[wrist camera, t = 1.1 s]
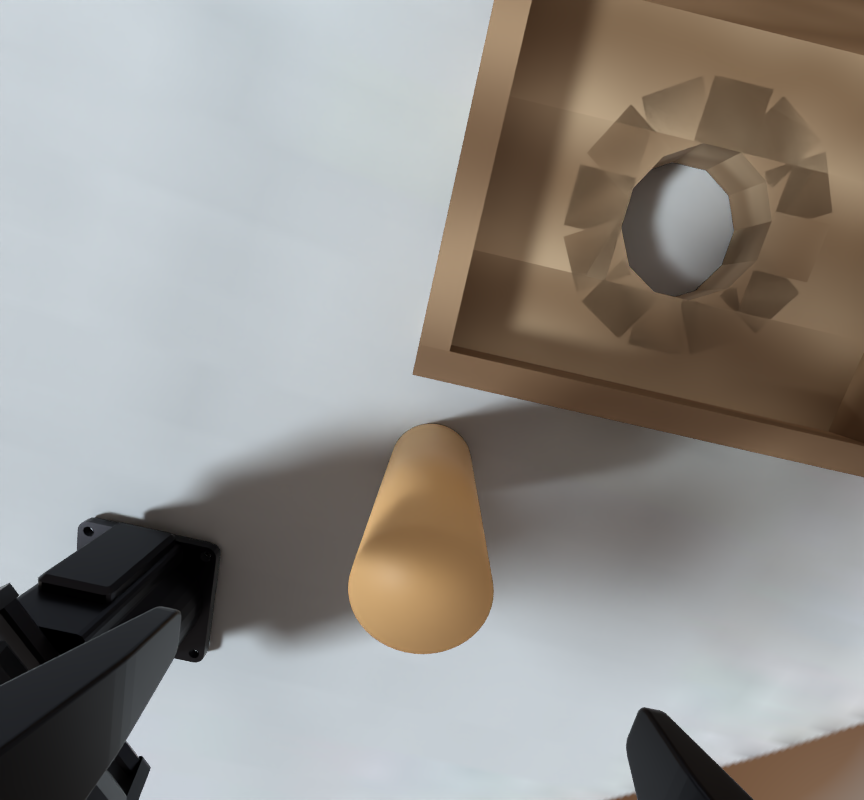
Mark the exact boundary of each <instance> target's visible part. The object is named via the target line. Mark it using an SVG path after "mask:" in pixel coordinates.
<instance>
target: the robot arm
mask: <svg viewBox="0 0 864 800" xmlns="http://www.w3.org/2000/svg"><path fill="white" fill-rule="evenodd" d="M90 527H91V528H92V529H93V530H94V531H92V530H91V529H90ZM205 552H207V553H209V554H210V555H211V557H209V556H207V555H206V554H205ZM219 562H220V549H219V547H218V546H217V545H215V544H213V543H210V542H205V541H201V540H196V539H192V538H187V537H182V536H178V535H173V534H171V533H167V532H163V531H158V530H153V529H149V528H144V527H140V526H135V525H130V524H126V523H118V522H113V521H108V520H104V519H99V518H90V519H87V520H86V521H84V522H82V523H81V524H80V525H79V527H78V537H77V551H76V552H75V553H73V554H72V555H70V556H69V557H67V558H66V559H64V560H63V561H61V562H60V563H58V564H57V565H55V566H54V567H52V568H51V569H49V570H48V571H46V572H45V573H43V574H42V575H41V576H40V577H39V578H38V584H36V585H35V586H33V587H32V588H31V589H29V590H28V591H26V592H25V593H23V594H22V595H20V596H19V594H18V593H17V592H16V590H15V589H14V588H13V587H12V585H11V584H10V583H8V584H6V585H4V586H2V587H0V800H139V797H140V794H141V792H142V789H143V787H144V784H145V781H146V779H147V776H148V774H149V771H150V766H149V764H148V763H147V762H146V760H145V759H144V758H143V757H142V756H139V757H138V756H137V754H136V753H135V752H134V750H133V749H132V748H131V746H130V745H129V744H128V743H127V741H126V739H127V738H128V736H129V734H130V733H131V731H132V729H133V728H134V726H135V724H136V722H137V721H138V719H139V717H140V716H141V714H142V712H143V710H144V709H145V707H146V705H147V704H148V702H149V700H150V698H151V697H152V695H153V693H154V692H155V690H156V688H157V687H158V685H159V683H160V681H161V680H162V678H163V676H164V675H165V673H166V671H167V669H168V668H169V666H170V664H171V663H172V661H173V659H174V658H175V659H180V660H185V661H190V662H199V661H201V660H202V659H203V658H204V656H205V655H206V653H207V651H208V647H209V639H210V631H211V624H212V616H213V608H214V601H215V593H216V585H217V577H218V570H219ZM18 596H19V597H18ZM195 650H197V651H198V652H197V651H195ZM626 750H627V757H628V761H629V765H630V770H631V774H632V778H633V782H634V787H635V791H636V795H637V800H753V799H752V798H751V797H750V796H749V795H748V794H747V793H746V792H745V791H744V790H743V789H742V788H741V787H740V786H739V785H738V784H737V783H736V782H735V781H734V780H733V779H732V778H731V777H730V776H729V775H728V774H727V773H726V772H725V771H724V770H723V769H722V768H721V767H720V766H719V765H718V764H717V763H716V762H715V761H714V760H713V759H712V758H711V757H710V756H709V755H708V754H707V753H706V752H705V751H704V750H703V749H701V748H700V747H699V746H698V745H697V744H696V743H695V742H694V741H693V740H692V739H691V738H690V737H689V736H688V735H687V734H686V733H685V732H684V731H683V730H682V729H681V728H680V727H679V726H678V725H677V724H676V723H675V722H674V721H673V720H672V719H671V718H670V717H669V716H668V715H667V714H666V713H664V712H662V711H660V710H655V709H650V708H645V707H644V708H641V709H640V710H639V711H638V713H637V716H636V718H635V720H634V723H633V725H632V728H631V730H630V733H629V735H628V738H627V743H626Z"/></svg>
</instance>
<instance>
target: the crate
mask: <svg viewBox="0 0 864 800" xmlns="http://www.w3.org/2000/svg"><path fill="white" fill-rule="evenodd" d="M672 162H674V163H678V164H682V165H686V166H690V167H694V168H698V169H703V170H706V171H707V172H708V173H709V174H710V175H711V176H712V178H713V179H714V180H715V181H716V182H717V183H718V184H719V185H720V187H721V188H722V189H723V190H724V191H725V192H726V193H727V194H728V196H729V201H730V207H731V214H732V220H733V227H734V232H733V235H732V238H731V241H730V244H729V246H728V249H727V252H726V255H725V257H724V260H723V263H722V266H720V267H719V268H718V269H717V270H716V271H715V272H714V273H713V274H712V275H711V276H710V277H709V278H708V279H707V280H706V281H705V282H704V283H703V284H702V285H701V286H700V287H699V288H698V289H697V290H696V291H693V292H689V293H686V294H683V295H680V296H676V297H673V296H669V295H665V294H660V293H656V292H654V291H653V290H652V289H651V288H650V287H649V286H648V285H647V284H646V283H645V282H644V281H643V280H642V279H641V278H640V277H639V276H638V275H637V274H636V273H635V272H634V271H633V270H632V269H631V267H630V266H629V263H628V259H627V254H626V249H625V244H624V239H623V234H622V230H621V227H622V224H623V221H624V217H625V214H626V211H627V207H628V204H629V201H630V198H631V194H632V191H633V188H634V187H635V186H636V185H637V184H638V183H639V182H640V181H641V179H642V178H643V177H644V176H645V175H646V174H647V173H648V172H649V171H650V170H651V169H654V168H657V167H660V166H663V165H666V164H669V163H672ZM413 375H417V376H421V377H426V378H430V379H434V380H439V381H443V382H448V383H452V384H456V385H461V386H465V387H470V388H474V389H478V390H483V391H487V392H492V393H496V394H500V395H505V396H509V397H514V398H518V399H522V400H527V401H531V402H536V403H540V404H544V405H549V406H553V407H557V408H562V409H566V410H571V411H575V412H579V413H584V414H588V415H593V416H597V417H601V418H606V419H610V420H615V421H619V422H623V423H628V424H632V425H637V426H641V427H645V428H650V429H654V430H659V431H663V432H667V433H672V434H676V435H681V436H685V437H689V438H694V439H698V440H703V441H707V442H711V443H716V444H720V445H725V446H729V447H733V448H738V449H742V450H747V451H751V452H755V453H760V454H764V455H769V456H773V457H777V458H782V459H786V460H791V461H795V462H799V463H804V464H808V465H813V466H817V467H821V468H826V469H830V470H835V471H839V472H843V473H848V474H852V475H857V476H861V477H864V0H494V3H493V8H492V12H491V17H490V22H489V26H488V31H487V35H486V40H485V45H484V49H483V54H482V58H481V63H480V67H479V72H478V77H477V81H476V86H475V90H474V95H473V100H472V104H471V109H470V113H469V118H468V122H467V127H466V132H465V136H464V141H463V145H462V150H461V155H460V159H459V164H458V168H457V173H456V177H455V182H454V187H453V191H452V196H451V200H450V205H449V210H448V214H447V219H446V223H445V228H444V233H443V237H442V242H441V246H440V251H439V255H438V260H437V265H436V269H435V274H434V278H433V283H432V288H431V292H430V297H429V301H428V306H427V310H426V315H425V320H424V324H423V329H422V333H421V338H420V343H419V347H418V352H417V356H416V361H415V365H414V370H413Z"/></svg>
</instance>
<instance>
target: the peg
mask: <svg viewBox="0 0 864 800" xmlns="http://www.w3.org/2000/svg"><path fill="white" fill-rule="evenodd" d="M493 592H494V590H493V580H492V575H491V569H490V563H489V558H488V552H487V546H486V540H485V535H484V529H483V523H482V518H481V512H480V506H479V501H478V495H477V489H476V483H475V478H474V472H473V466H472V461H471V455H470V451H469V448H468V446H467V444H466V442H465V441H464V440H463V438H462V437H461V436H460V435H459V434H458V433H456V432H455V431H454V430H452V429H450V428H448V427H446V426H443V425H439V424H423V425H419V426H416V427H413V428H411V429H410V430H408V431H407V432H405V433H404V434H403V435H402V436H401V437H400V438H399V440H398V441H397V443H396V444H395V447H394V449H393V452H392V455H391V457H390V460H389V463H388V466H387V469H386V472H385V475H384V477H383V480H382V483H381V486H380V489H379V492H378V495H377V497H376V500H375V503H374V506H373V509H372V512H371V515H370V517H369V520H368V523H367V526H366V529H365V532H364V535H363V537H362V540H361V543H360V546H359V549H358V552H357V555H356V557H355V560H354V563H353V566H352V569H351V572H350V576H349V582H348V595H349V601H350V604H351V607H352V610H353V612H354V614H355V616H356V618H357V620H358V621H359V623H360V624H361V626H362V627H363V628H364V629H365V630H366V631H367V632H368V633H369V634H370V635H371V636H372V637H374V638H375V639H376V640H378V641H379V642H381V643H383V644H385V645H387V646H388V647H391V648H393V649H396V650H399V651H403V652H408V653H414V654H431V653H438V652H443V651H446V650H449V649H452V648H454V647H456V646H459V645H460V644H462V643H464V642H465V641H467V640H468V639H469V638H471V637H472V636H473V635H474V634H475V633H476V632H477V631H478V630H479V629H480V628H481V626H482V625H483V624H484V622H485V620H486V619H487V617H488V615H489V612H490V610H491V606H492V602H493Z"/></svg>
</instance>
